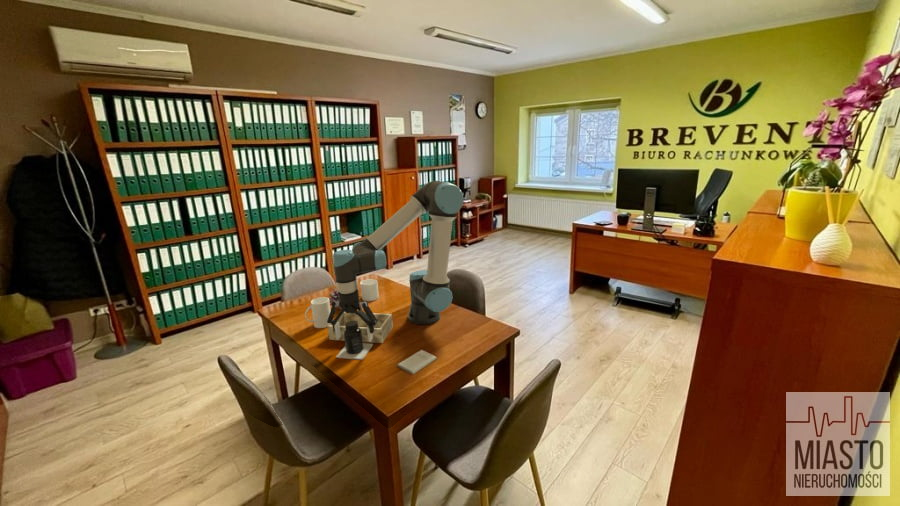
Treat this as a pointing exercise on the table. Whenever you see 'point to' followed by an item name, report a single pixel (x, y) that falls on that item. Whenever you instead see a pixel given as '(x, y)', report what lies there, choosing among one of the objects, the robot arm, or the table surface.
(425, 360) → the external hard drive
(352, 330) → the supplement bottle
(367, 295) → the mug
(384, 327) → the crate
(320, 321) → the mug
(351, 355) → the pad
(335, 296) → the purple spiky ball
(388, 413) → the table surface
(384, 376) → the table surface
